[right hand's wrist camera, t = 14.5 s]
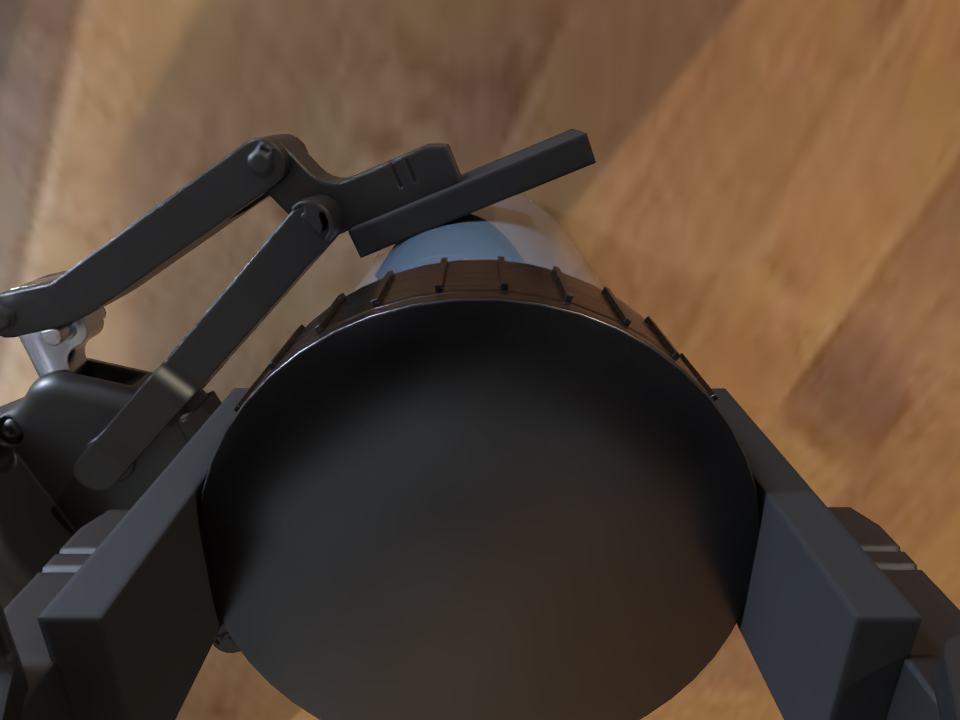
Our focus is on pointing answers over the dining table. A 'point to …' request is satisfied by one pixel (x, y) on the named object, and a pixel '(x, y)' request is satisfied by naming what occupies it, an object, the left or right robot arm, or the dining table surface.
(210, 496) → the lid
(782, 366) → the dining table surface
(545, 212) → the jar
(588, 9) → the dining table surface
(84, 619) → the right robot arm
